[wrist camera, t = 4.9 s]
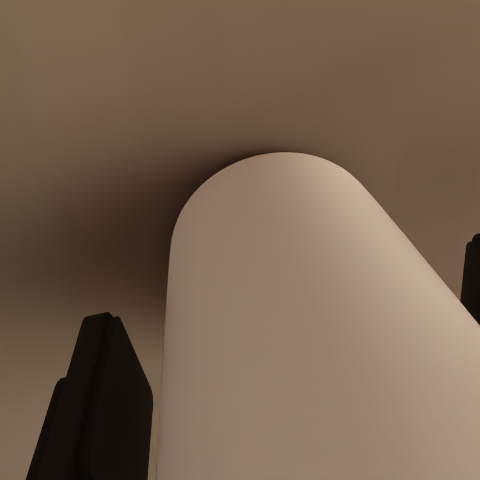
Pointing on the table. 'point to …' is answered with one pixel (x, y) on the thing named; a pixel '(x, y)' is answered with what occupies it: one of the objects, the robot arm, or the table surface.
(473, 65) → the table surface
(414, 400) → the can
